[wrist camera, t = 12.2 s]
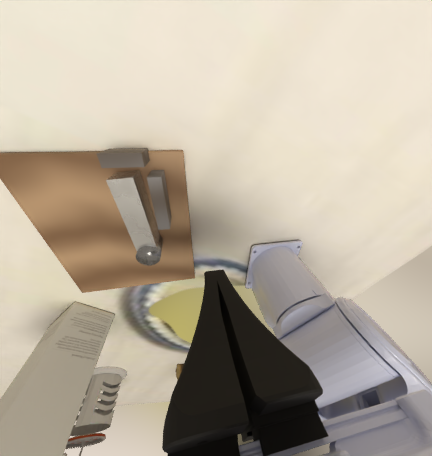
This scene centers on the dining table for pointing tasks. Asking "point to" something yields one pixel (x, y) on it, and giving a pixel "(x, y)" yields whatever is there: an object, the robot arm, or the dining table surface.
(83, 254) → the lock board
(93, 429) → the french press
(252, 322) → the robot arm
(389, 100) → the dining table surface
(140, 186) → the swing bar
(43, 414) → the skincare box
